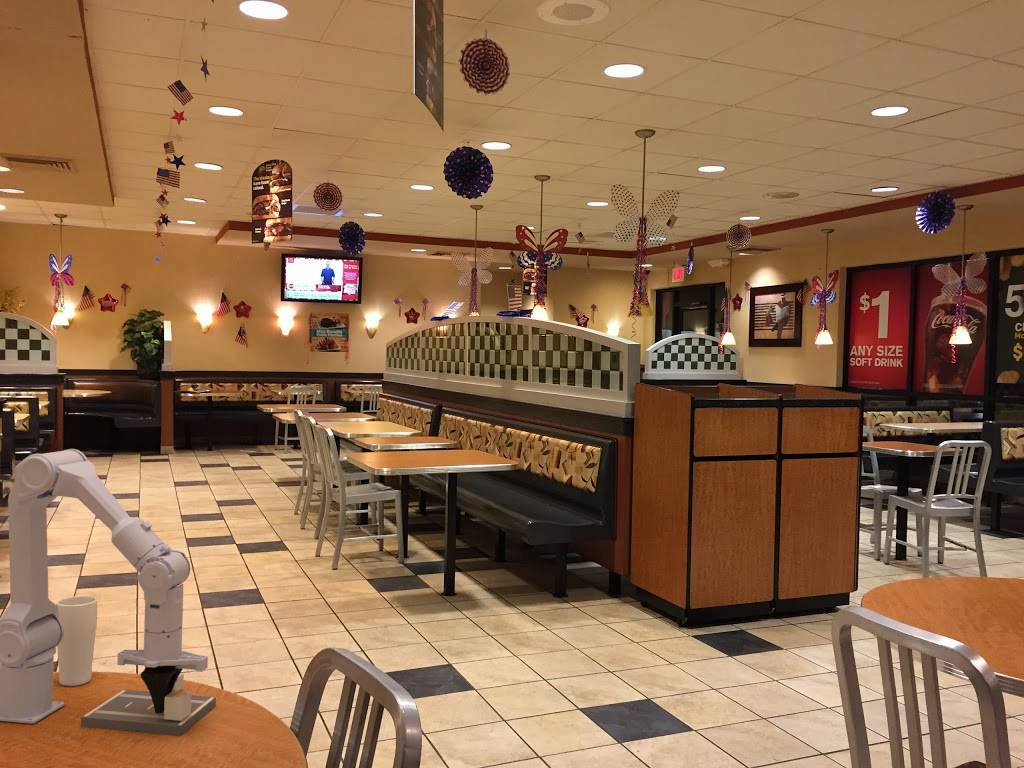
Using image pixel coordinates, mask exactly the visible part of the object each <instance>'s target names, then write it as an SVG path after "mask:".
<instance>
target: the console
mask: <svg viewBox="0 0 1024 768" xmlns="http://www.w3.org/2000/svg"><path fill="white" fill-rule="evenodd" d="M216 706H217V697H216V696H210V695H209V696H208V695H196V694H195V695H194V694H191V714H189V715H188V716H187V717H186V718H184V719H183V720H182V721H179V720H168V719H164V712H163V713H161V714H160V713H155V709H154V705H153V701H152V698H151V695H150V692H149V690H148V691H147V690H134V689H122V690H121V691H119V692H118V693H116V694H114V695H113V696H112V697H110V698H109V699H107V700H105V701H104V702H102V703H101V704H99V705H98V706H96V707H95V708H94V709H92V710H90V711H88V712H87V713H85V714H84V715H82V716H81V717H80V719H81V721H80V727H84V728H94V729H104V730H105V729H107V730H116V731H117V730H118V731H128V732H141V733H150V734H161V735H172V736H173V735H174V736H182V735H183V734H184V733H186V732H187V731H188V730H189V729H190V728H191V727H193V726H194V725H195V724H196V723H197V722H199V721H200V720H201V719H203V717H204V716H206V715H207V714H208V713H209V712H210V711H211V710H212V709H214V708H215V707H216Z"/></svg>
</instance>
